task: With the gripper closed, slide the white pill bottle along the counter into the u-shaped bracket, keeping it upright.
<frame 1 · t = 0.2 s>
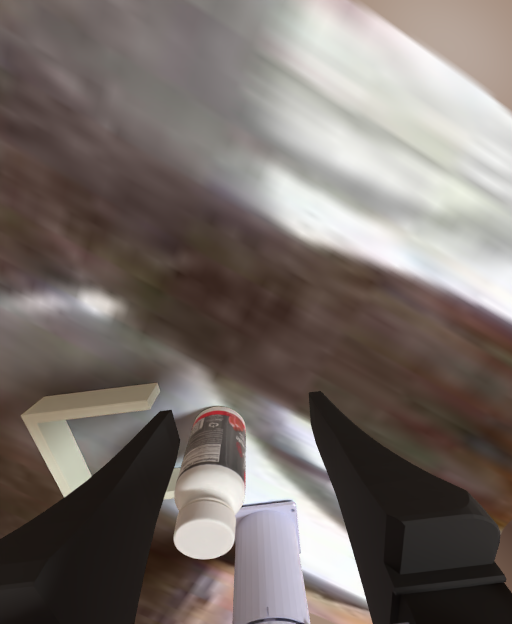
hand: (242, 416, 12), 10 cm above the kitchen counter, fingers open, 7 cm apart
pill bottle: (220, 424, 25), on the kitchen counter
u-shaped bracket: (124, 437, 25), on the kitchen counter
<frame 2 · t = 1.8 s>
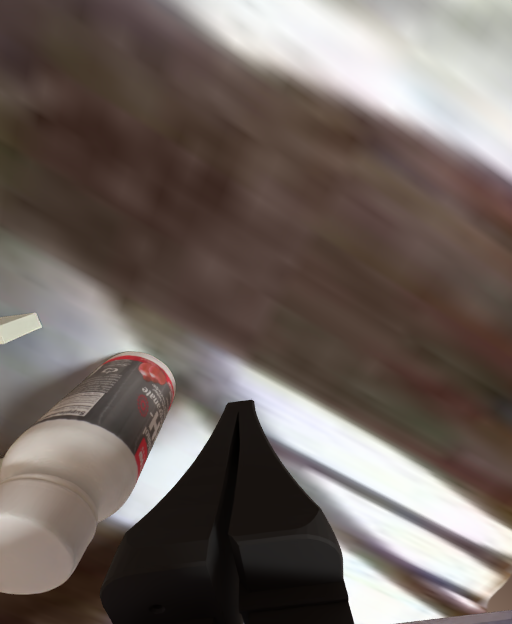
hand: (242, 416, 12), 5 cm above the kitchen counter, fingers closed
pill bottle: (140, 381, 17), on the kitchen counter
u-shaped bracket: (0, 400, 17), on the kitchen counter
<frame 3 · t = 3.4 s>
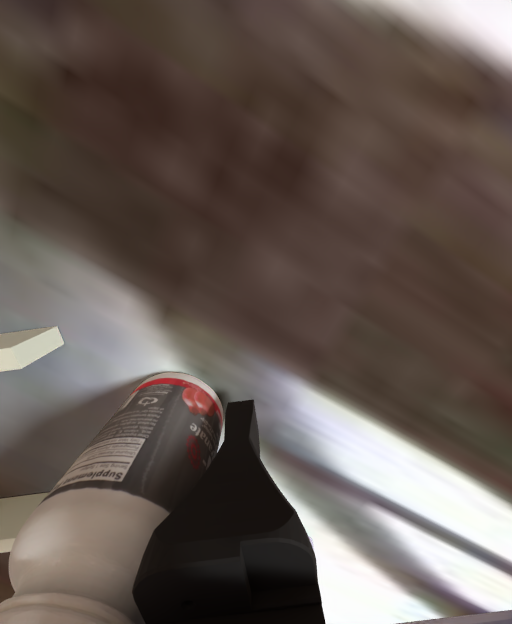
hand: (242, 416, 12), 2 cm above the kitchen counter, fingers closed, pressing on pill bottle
pill bottle: (180, 406, 14), on the kitchen counter, touching gripper
u-shaped bracket: (12, 431, 14), on the kitchen counter
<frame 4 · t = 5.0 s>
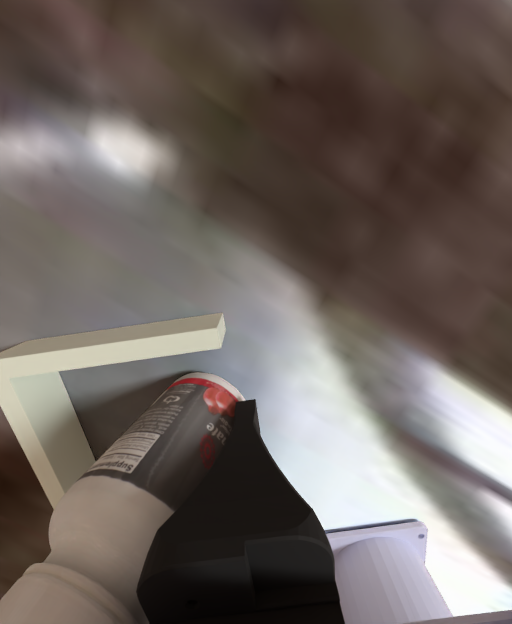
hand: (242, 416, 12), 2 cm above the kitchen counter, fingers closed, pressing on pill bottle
pill bottle: (211, 406, 15), on the kitchen counter, touching gripper
u-shaped bracket: (160, 415, 15), on the kitchen counter
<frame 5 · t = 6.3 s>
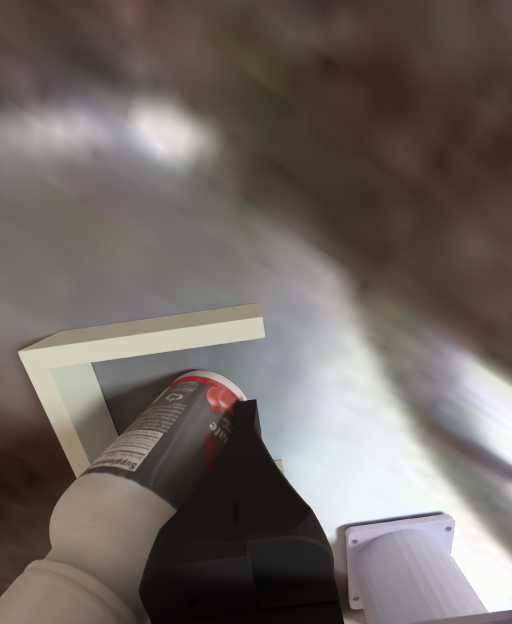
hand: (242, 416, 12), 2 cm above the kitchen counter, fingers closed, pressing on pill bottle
pill bottle: (212, 404, 14), on the kitchen counter, touching gripper
u-shaped bracket: (192, 408, 15), on the kitchen counter
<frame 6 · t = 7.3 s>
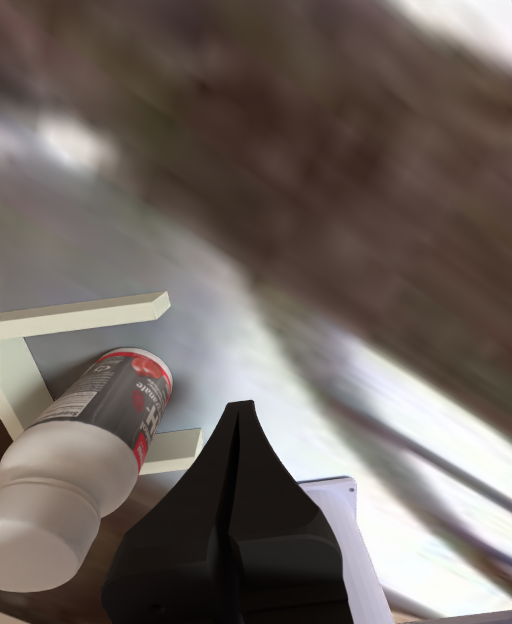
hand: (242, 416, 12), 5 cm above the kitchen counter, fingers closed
pill bottle: (136, 376, 17), on the kitchen counter
u-shaped bracket: (117, 381, 17), on the kitchen counter
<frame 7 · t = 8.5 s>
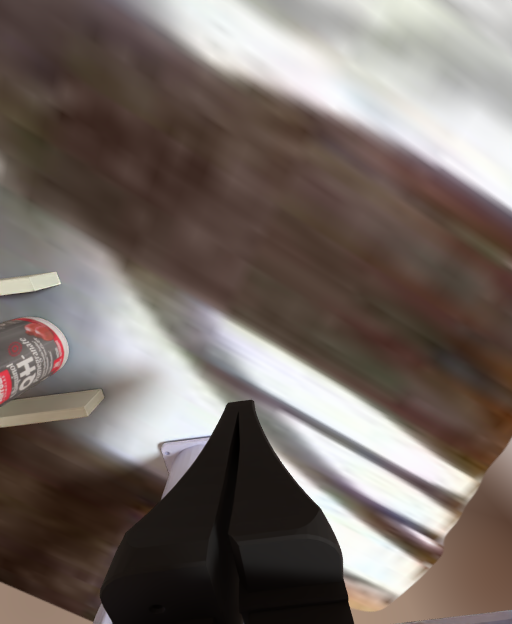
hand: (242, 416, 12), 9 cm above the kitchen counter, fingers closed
pill bottle: (41, 343, 21), on the kitchen counter
u-shaped bracket: (26, 347, 21), on the kitchen counter
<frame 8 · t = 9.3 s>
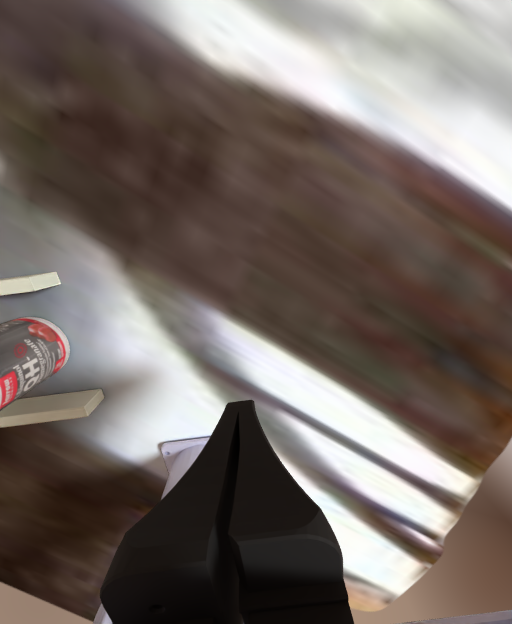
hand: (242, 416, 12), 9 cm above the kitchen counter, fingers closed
pill bottle: (41, 343, 21), on the kitchen counter
u-shaped bracket: (26, 347, 21), on the kitchen counter
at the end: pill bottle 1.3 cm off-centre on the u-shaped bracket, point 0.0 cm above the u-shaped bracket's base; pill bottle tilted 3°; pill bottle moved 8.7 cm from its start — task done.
